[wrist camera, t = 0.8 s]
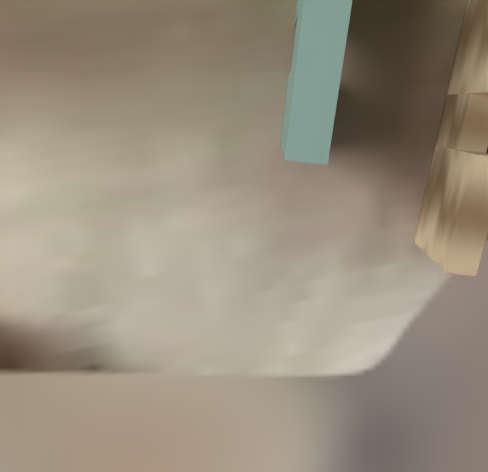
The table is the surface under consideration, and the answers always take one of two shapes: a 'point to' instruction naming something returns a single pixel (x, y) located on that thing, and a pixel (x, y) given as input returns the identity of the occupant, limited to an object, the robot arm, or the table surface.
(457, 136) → the birch notched board
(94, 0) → the table surface
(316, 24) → the teal slotted plate
